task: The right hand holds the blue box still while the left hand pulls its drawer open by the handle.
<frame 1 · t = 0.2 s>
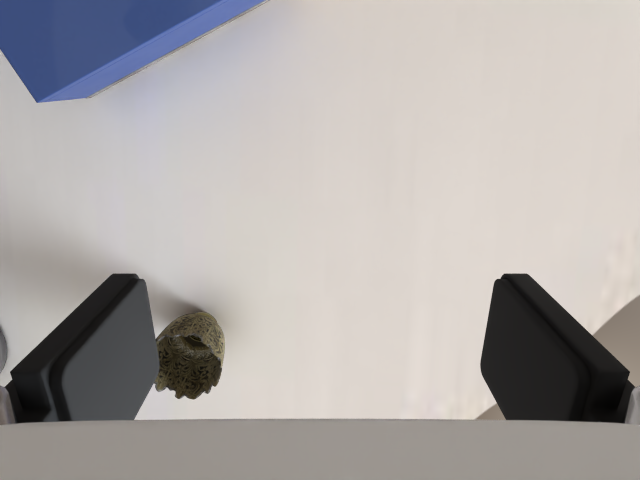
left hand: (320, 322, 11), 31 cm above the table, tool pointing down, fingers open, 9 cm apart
cup: (203, 322, 47), on the table
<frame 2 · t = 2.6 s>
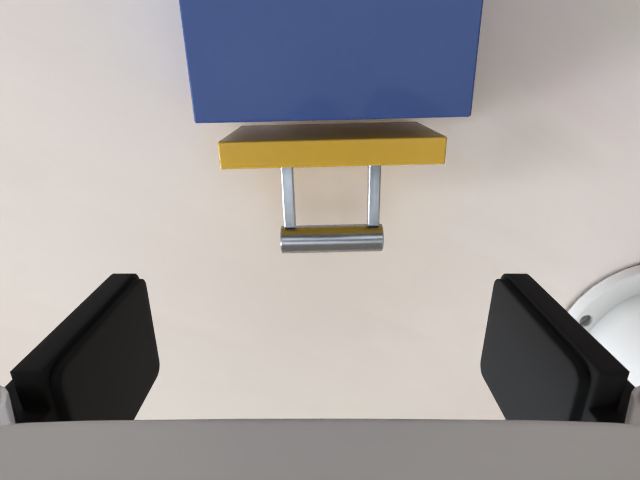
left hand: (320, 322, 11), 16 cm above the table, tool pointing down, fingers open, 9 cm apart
drawer: (328, 0, 19), point 4 cm above the table, slide at 0.9 cm
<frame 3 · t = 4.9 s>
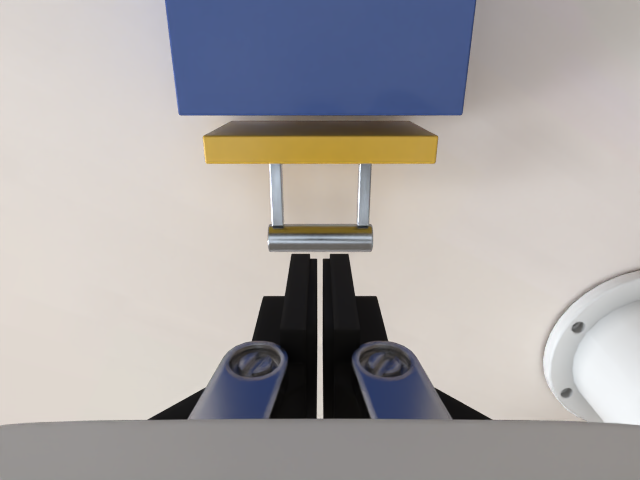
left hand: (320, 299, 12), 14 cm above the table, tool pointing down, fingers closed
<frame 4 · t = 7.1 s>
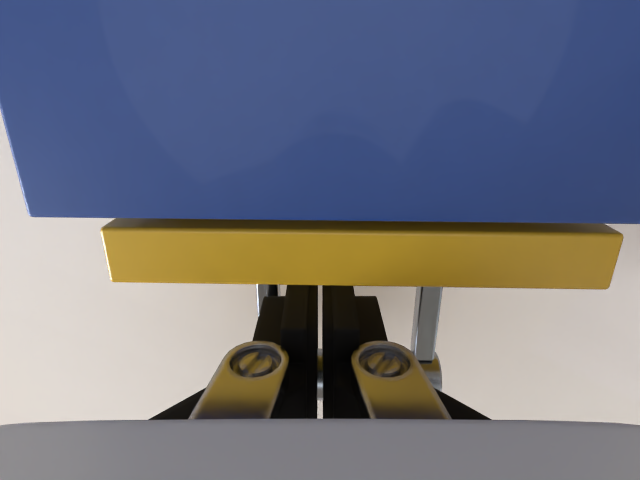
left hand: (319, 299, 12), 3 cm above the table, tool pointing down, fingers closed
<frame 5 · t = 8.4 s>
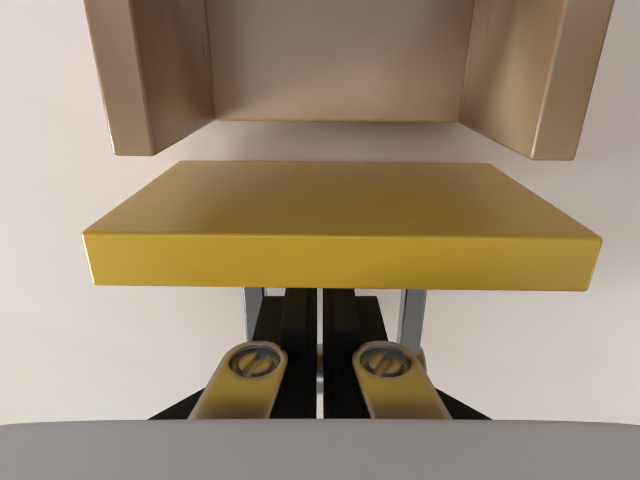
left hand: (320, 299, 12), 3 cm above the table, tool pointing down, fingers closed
when the right hand's fingers open (3 cm above the table, at t = 10.3 s): blue box stays where it is, on the table.
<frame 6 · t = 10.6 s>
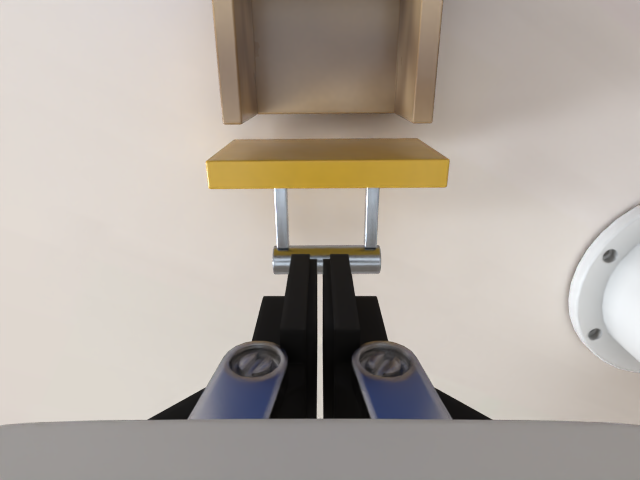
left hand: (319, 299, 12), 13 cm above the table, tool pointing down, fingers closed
drawer: (326, 12, 18), point 4 cm above the table, slide at 7.3 cm
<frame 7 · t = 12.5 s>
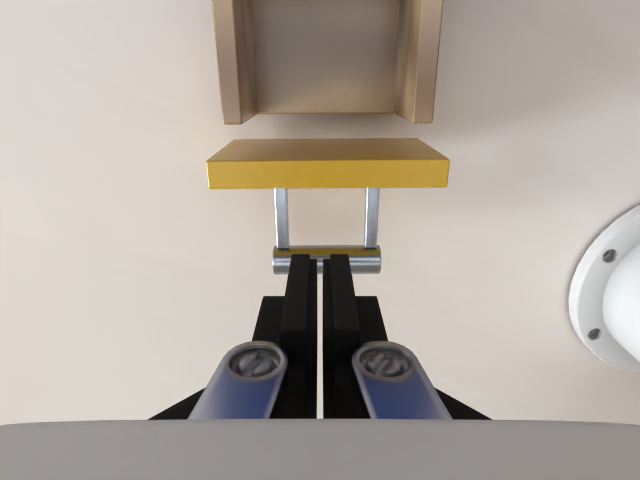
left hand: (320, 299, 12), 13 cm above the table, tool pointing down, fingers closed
drawer: (326, 12, 18), point 4 cm above the table, slide at 7.3 cm
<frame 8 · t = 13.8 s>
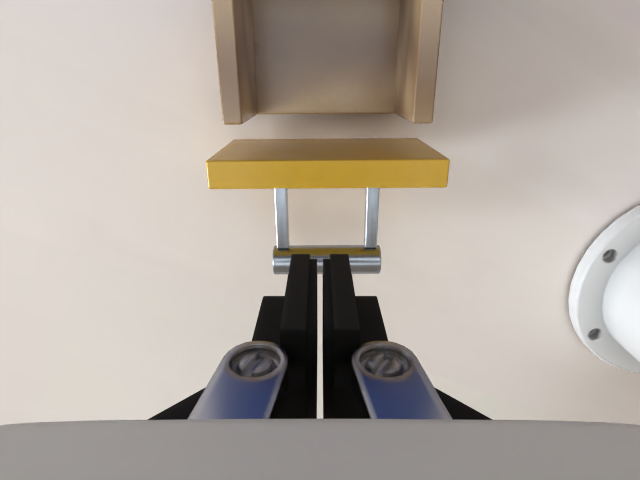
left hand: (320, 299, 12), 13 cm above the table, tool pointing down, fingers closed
drawer: (326, 12, 18), point 4 cm above the table, slide at 7.3 cm
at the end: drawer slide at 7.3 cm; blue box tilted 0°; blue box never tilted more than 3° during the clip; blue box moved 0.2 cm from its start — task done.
